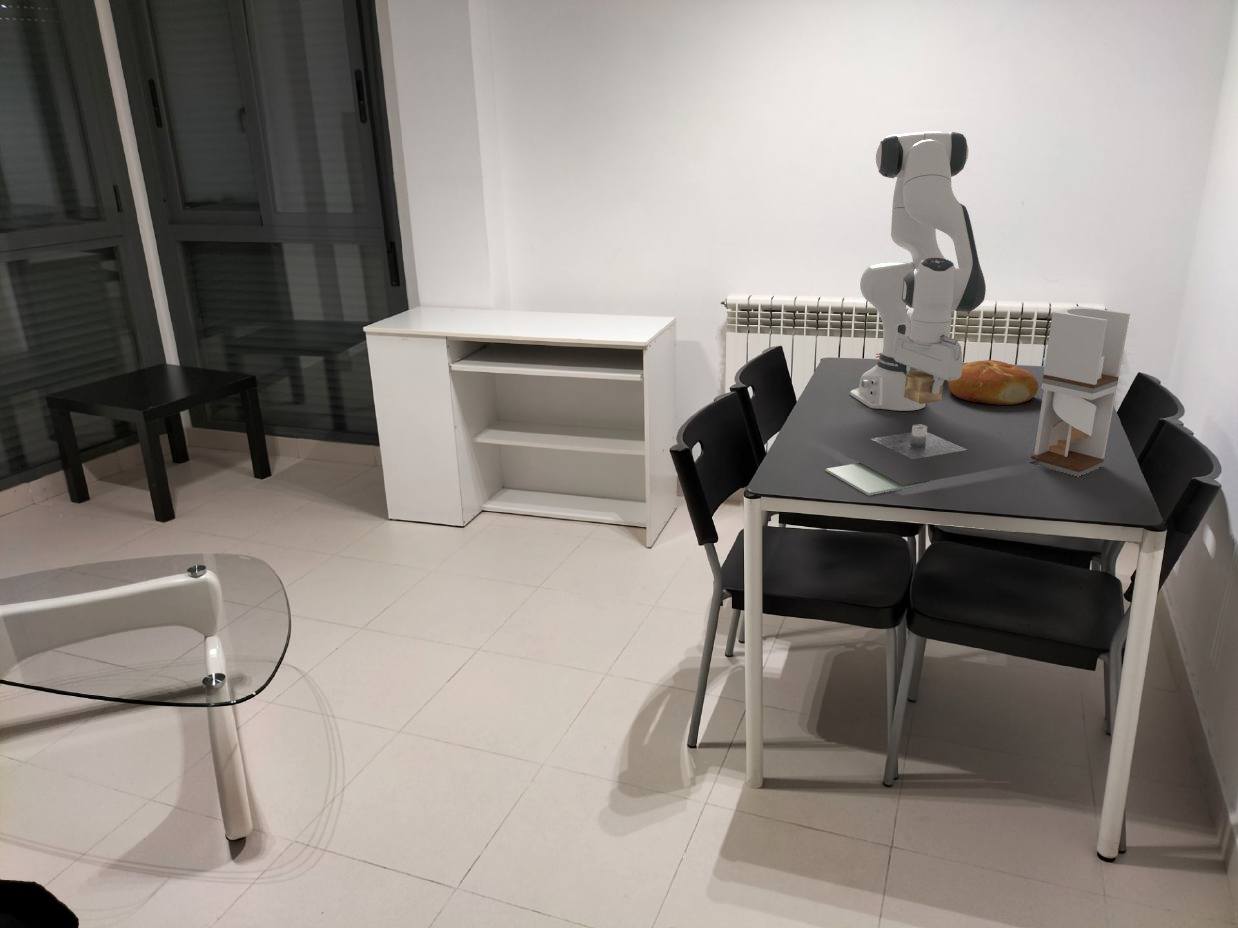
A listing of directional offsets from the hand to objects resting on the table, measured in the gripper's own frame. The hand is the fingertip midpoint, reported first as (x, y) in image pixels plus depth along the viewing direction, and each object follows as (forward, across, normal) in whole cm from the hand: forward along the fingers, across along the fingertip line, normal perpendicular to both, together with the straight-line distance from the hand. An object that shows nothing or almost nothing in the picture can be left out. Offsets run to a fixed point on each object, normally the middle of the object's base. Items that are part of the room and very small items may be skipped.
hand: (923, 389), depth 216 cm
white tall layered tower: (+15, -22, -24) cm, 36 cm away
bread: (+16, +28, -48) cm, 57 cm away
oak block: (+2, 0, 0) cm, 2 cm away
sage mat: (+15, -12, +20) cm, 28 cm away
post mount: (+15, 0, 0) cm, 15 cm away
